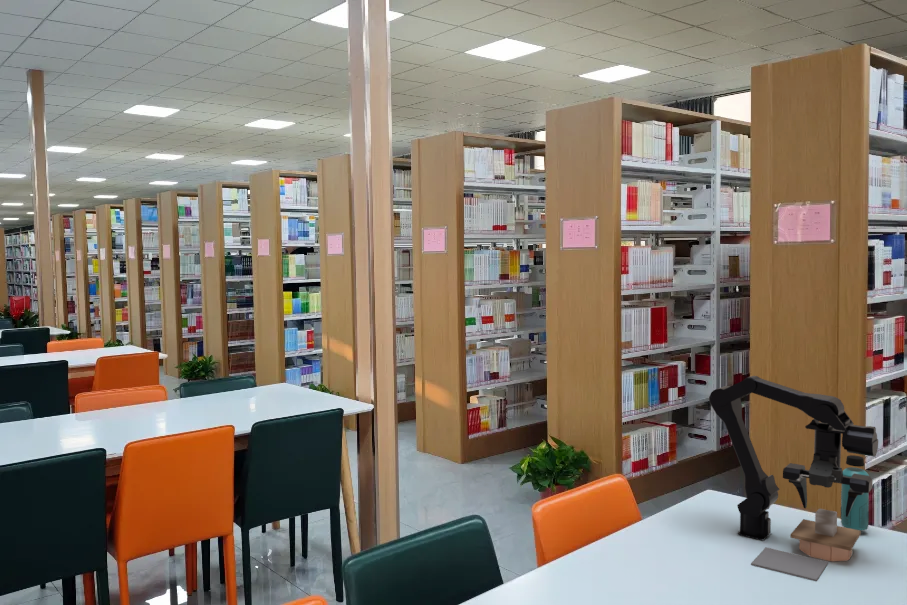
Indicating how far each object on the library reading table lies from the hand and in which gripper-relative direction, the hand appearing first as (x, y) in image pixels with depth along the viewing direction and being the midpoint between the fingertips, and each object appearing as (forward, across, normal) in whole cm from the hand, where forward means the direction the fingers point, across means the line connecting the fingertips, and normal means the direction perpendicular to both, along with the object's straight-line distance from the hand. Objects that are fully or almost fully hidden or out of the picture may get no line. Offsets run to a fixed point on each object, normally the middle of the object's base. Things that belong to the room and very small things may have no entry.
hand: (825, 512), depth 172 cm
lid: (+6, 0, 0) cm, 6 cm away
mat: (+10, -5, -13) cm, 17 cm away
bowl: (+10, 0, 0) cm, 10 cm away
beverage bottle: (+10, +3, +19) cm, 22 cm away
